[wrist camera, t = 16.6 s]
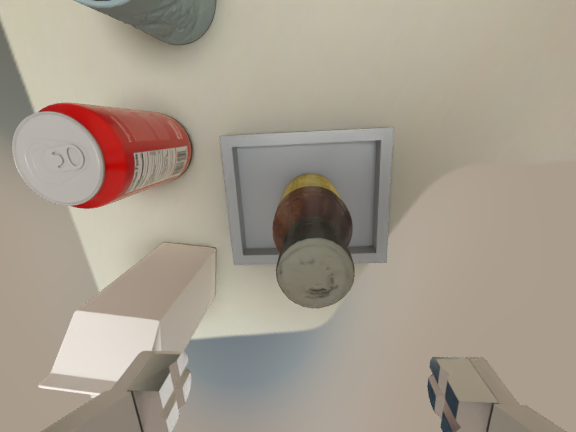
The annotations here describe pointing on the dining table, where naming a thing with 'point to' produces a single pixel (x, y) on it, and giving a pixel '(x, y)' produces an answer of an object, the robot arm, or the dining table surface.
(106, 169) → the soda can
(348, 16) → the dining table surface
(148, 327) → the milk carton
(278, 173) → the tray
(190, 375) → the robot arm
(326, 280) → the sauce bottle
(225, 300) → the dining table surface
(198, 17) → the blue gray cup
